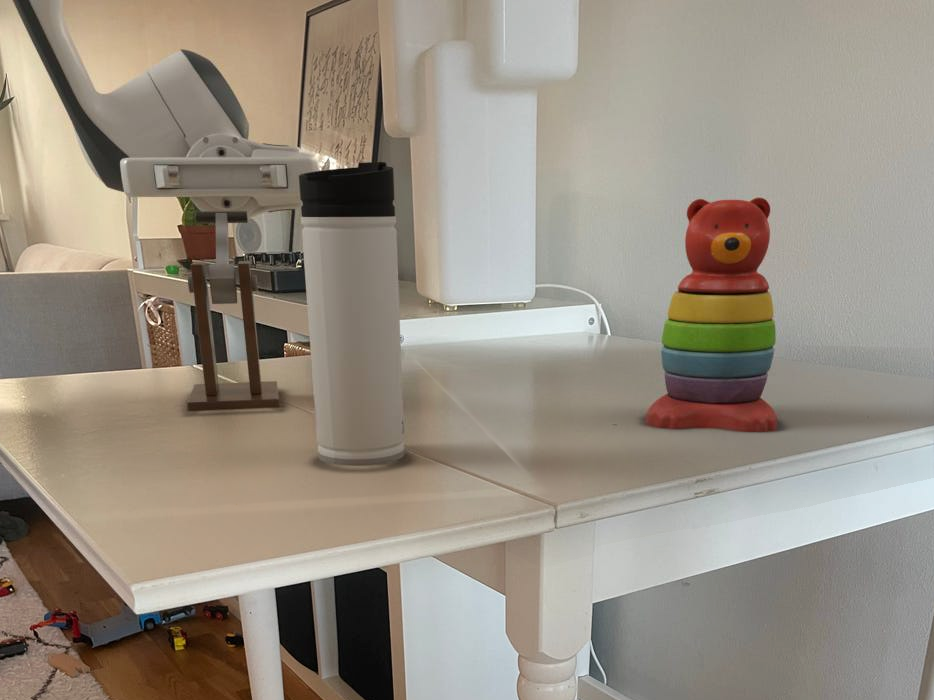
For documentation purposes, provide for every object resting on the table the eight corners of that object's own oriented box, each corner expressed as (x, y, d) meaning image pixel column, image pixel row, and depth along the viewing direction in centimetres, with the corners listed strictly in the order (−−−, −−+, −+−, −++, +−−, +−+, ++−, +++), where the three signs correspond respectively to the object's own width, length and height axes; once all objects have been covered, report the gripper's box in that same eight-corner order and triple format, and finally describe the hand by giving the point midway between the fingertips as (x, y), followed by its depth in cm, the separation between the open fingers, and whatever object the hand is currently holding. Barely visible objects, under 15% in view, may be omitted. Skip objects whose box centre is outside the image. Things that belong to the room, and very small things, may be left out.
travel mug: (424, 460, 72) (415, 161, 64) (370, 480, 67) (354, 157, 59) (357, 450, 75) (341, 163, 67) (301, 468, 70) (276, 160, 62)
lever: (197, 227, 97) (194, 202, 96) (248, 226, 98) (246, 202, 97) (196, 304, 87) (192, 279, 85) (253, 303, 88) (250, 277, 86)
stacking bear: (643, 431, 81) (659, 197, 74) (651, 408, 90) (665, 198, 83) (777, 436, 79) (806, 196, 72) (771, 413, 88) (797, 197, 81)
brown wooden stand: (195, 399, 96) (178, 260, 90) (278, 396, 97) (266, 259, 92) (189, 419, 87) (169, 266, 81) (280, 415, 88) (266, 264, 83)
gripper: (123, 147, 106) (105, 139, 93) (313, 147, 109) (319, 139, 97) (132, 210, 108) (115, 211, 96) (317, 208, 112) (324, 209, 99)
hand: (220, 175), depth 96 cm, fingers open, 8 cm apart
